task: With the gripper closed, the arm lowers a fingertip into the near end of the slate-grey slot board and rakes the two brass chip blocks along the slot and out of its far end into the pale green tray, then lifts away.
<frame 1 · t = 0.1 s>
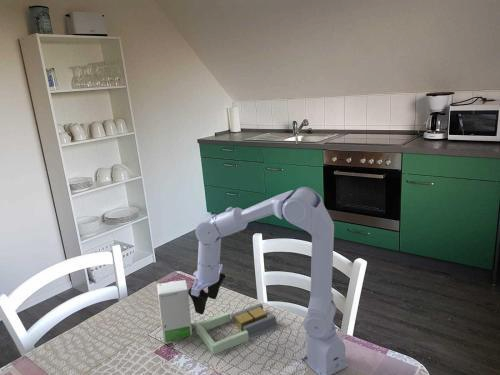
hand: (206, 305, 109), 11 cm above the table, tool pointing down, fingers open, 7 cm apart
chip far: (244, 326, 114), point 1 cm above the table, touching slot board
slot board: (238, 332, 114), on the table
skincare box: (178, 335, 114), on the table
chip near: (258, 321, 116), point 1 cm above the table, touching slot board
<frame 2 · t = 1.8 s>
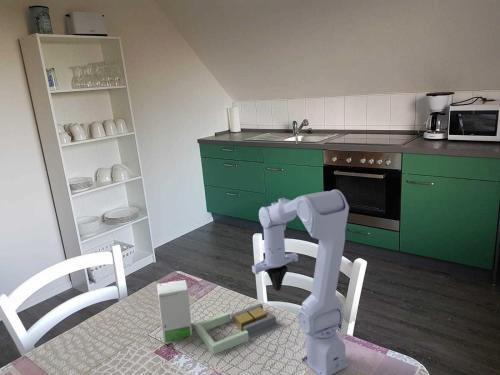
hand: (276, 288, 117), 9 cm above the table, tool pointing down, fingers closed
nothing on the table moved.
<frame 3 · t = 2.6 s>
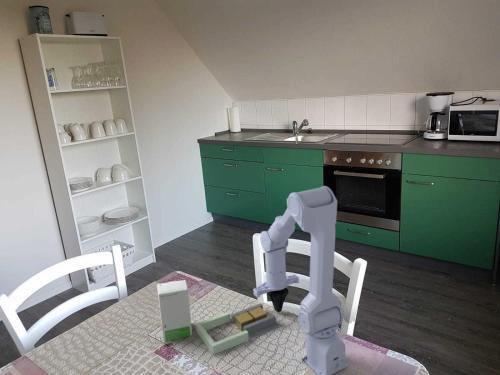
hand: (278, 310, 119), 2 cm above the table, tool pointing down, fingers closed
nothing on the table moved.
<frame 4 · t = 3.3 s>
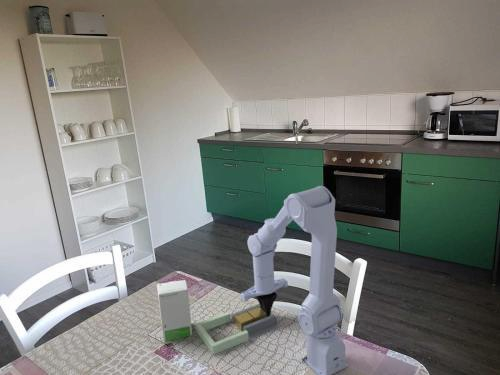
hand: (266, 314, 117), 2 cm above the table, tool pointing down, fingers closed
chip near: (257, 321, 116), point 1 cm above the table, touching gripper
everything else where it was.
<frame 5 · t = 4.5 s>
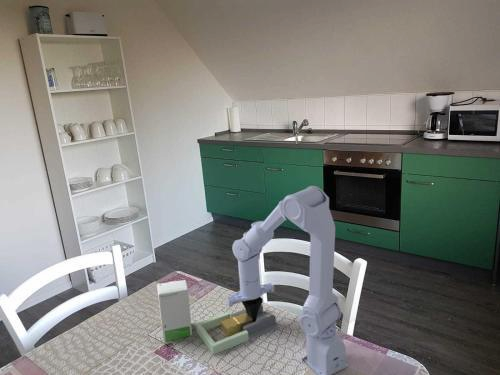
hand: (252, 320, 115), 2 cm above the table, tool pointing down, fingers closed
chip far: (230, 332, 112), point 1 cm above the table, touching chip near, slot board
chip near: (243, 327, 114), point 1 cm above the table, touching chip far, gripper
everything else where it was.
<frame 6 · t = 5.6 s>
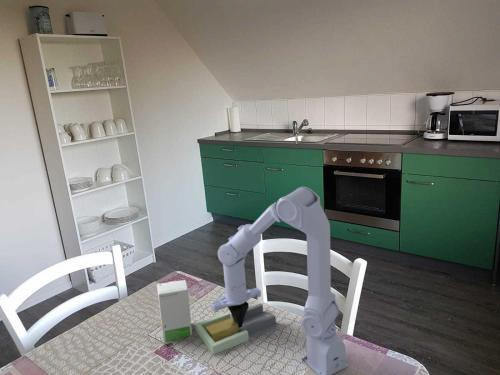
hand: (238, 325, 113), 2 cm above the table, tool pointing down, fingers closed
chip far: (216, 337, 110), point 1 cm above the table, touching chip near, slot board
chip near: (229, 332, 112), point 1 cm above the table, touching chip far, gripper, slot board
everything else where it was.
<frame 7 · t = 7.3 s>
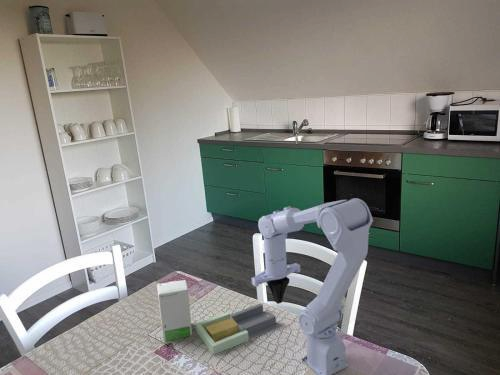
hand: (278, 301, 111), 9 cm above the table, tool pointing down, fingers closed
chip near: (229, 332, 112), point 1 cm above the table, touching chip far, slot board
everything else where it was.
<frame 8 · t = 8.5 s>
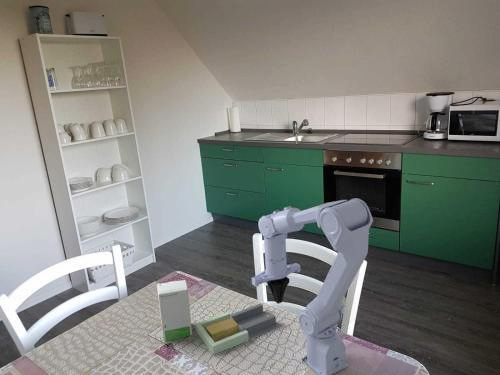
hand: (278, 301, 111), 9 cm above the table, tool pointing down, fingers closed
nothing on the table moved.
at the end: chip near inside the target area on the slot board (2.4 cm from its centre), point 1.1 cm above the slot board's base; chip far inside the target area on the slot board (1.7 cm from its centre), point 1.1 cm above the slot board's base; chip near touching chip far, slot board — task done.
